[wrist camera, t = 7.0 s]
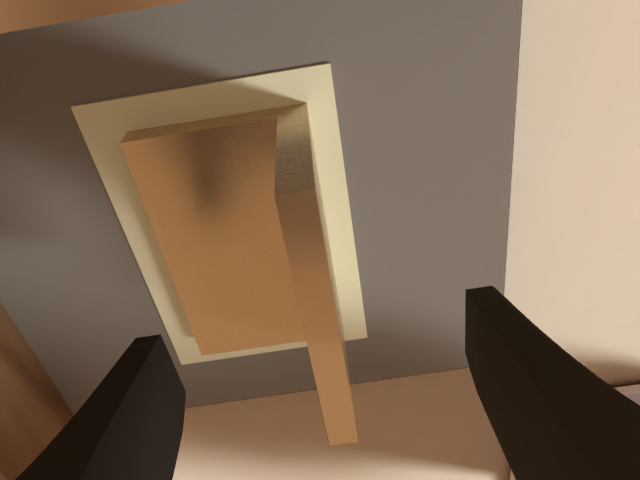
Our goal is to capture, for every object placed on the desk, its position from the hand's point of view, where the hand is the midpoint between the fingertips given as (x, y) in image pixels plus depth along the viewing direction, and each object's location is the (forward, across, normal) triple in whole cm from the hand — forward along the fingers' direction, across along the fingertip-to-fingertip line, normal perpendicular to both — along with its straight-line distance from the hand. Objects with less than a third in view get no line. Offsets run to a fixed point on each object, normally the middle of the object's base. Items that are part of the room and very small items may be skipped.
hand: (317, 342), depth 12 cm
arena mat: (+6, +3, -1) cm, 6 cm away
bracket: (+5, +2, 0) cm, 5 cm away
